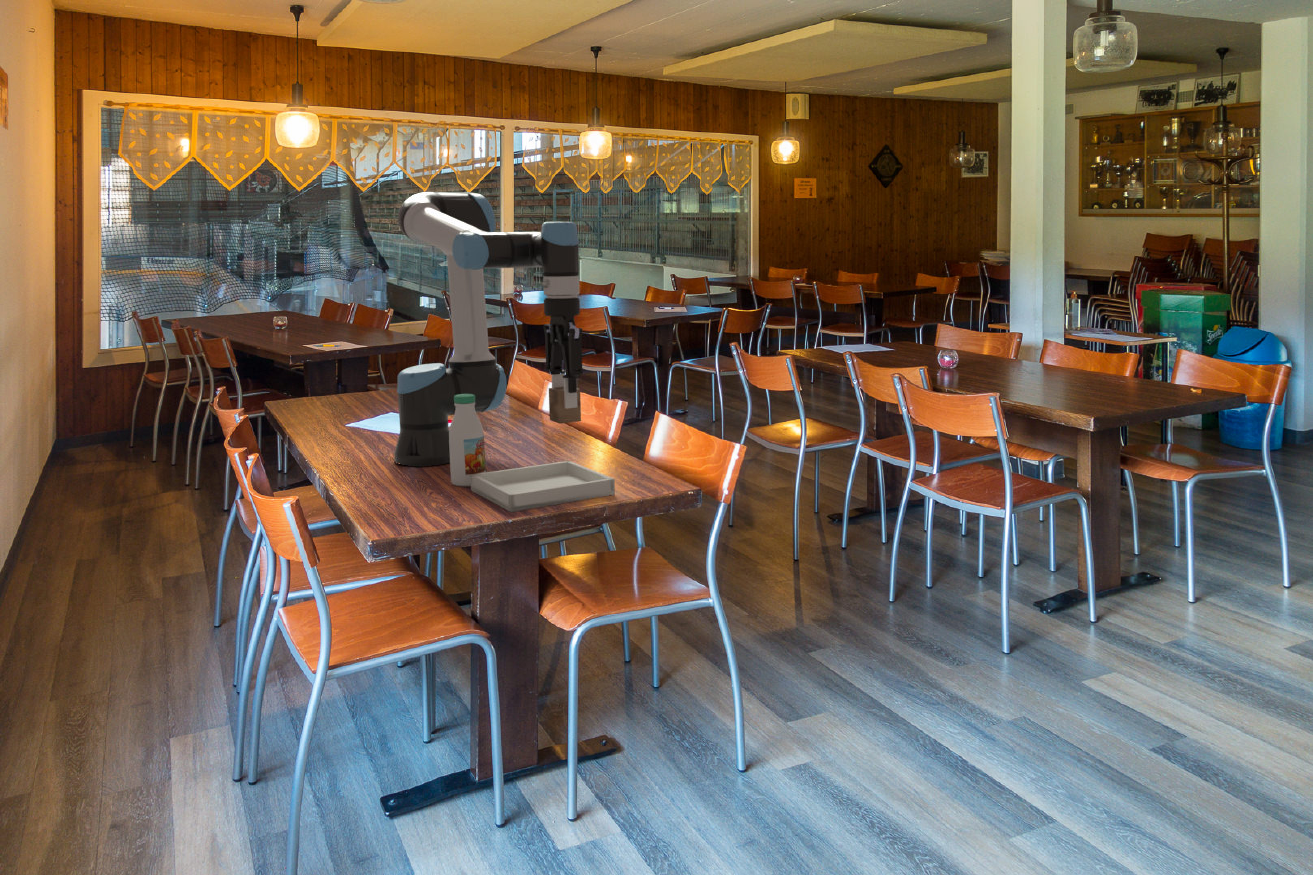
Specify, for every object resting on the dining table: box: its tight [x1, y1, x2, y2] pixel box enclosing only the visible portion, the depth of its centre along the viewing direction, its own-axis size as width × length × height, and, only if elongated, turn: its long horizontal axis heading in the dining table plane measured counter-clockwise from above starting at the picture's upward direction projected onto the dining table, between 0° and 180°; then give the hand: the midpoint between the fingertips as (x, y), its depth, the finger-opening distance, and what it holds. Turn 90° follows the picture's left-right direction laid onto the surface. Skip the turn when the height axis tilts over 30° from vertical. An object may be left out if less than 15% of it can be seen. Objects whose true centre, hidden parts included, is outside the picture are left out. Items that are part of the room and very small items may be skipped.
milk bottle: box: [449, 394, 486, 487], centre depth 223 cm, size 8×8×20 cm
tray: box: [470, 460, 616, 513], centre depth 216 cm, size 21×24×4 cm
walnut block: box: [548, 387, 582, 425], centre depth 215 cm, size 5×5×7 cm
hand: (564, 405), depth 215 cm, fingers closed on walnut block, 5 cm apart
